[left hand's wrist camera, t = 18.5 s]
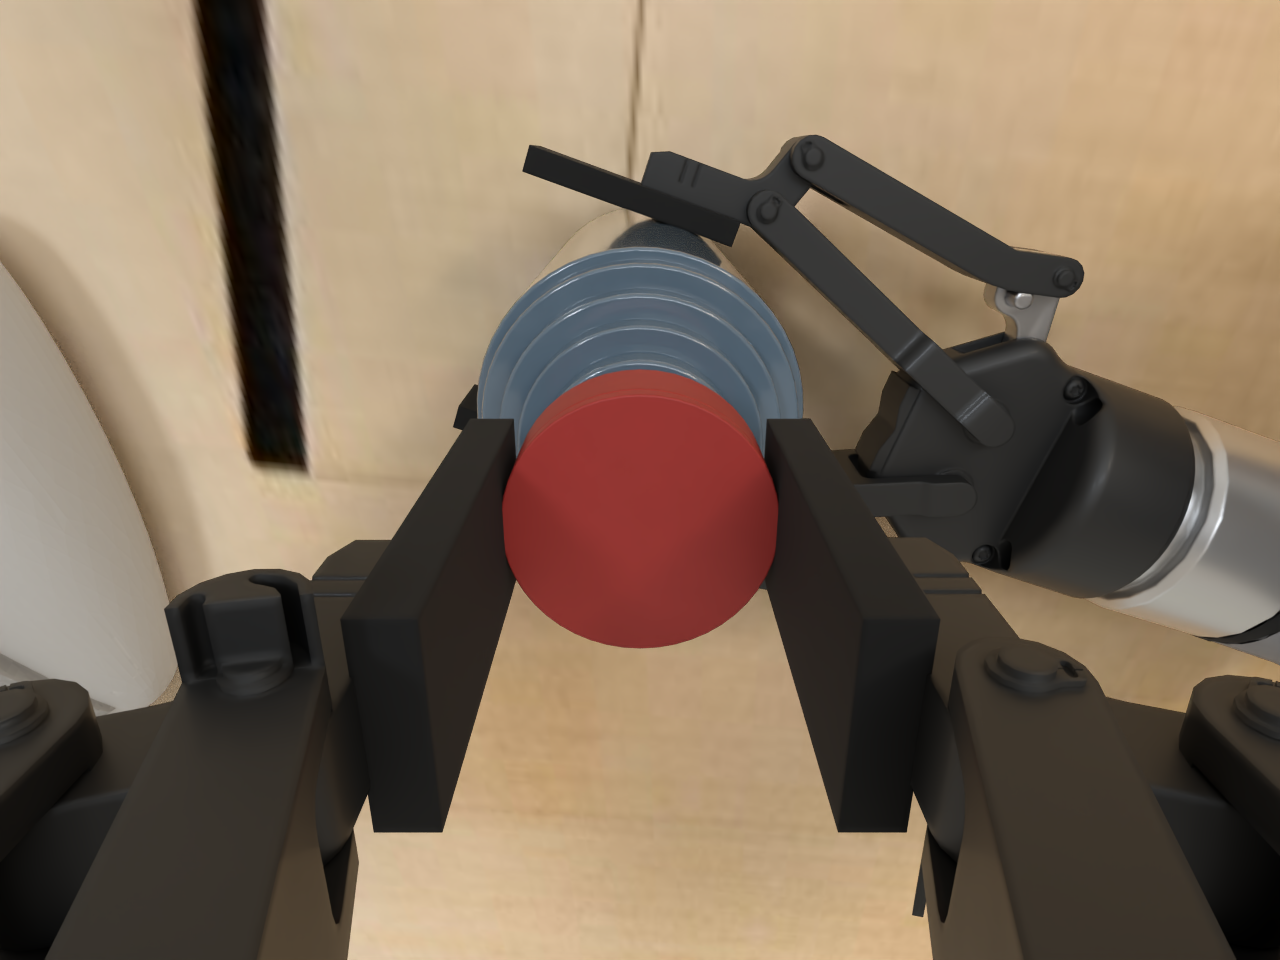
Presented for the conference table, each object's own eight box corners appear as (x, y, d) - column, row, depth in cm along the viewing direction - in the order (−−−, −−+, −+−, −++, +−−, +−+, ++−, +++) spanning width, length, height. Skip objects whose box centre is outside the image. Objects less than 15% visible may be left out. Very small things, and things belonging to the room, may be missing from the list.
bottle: (659, 430, 34) (684, 767, 15) (510, 326, 33) (332, 560, 14) (772, 284, 32) (963, 467, 13) (617, 165, 30) (580, 178, 11)
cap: (544, 339, 13) (531, 361, 12) (799, 405, 14) (819, 435, 12) (493, 571, 15) (477, 616, 13) (723, 623, 15) (732, 673, 14)
